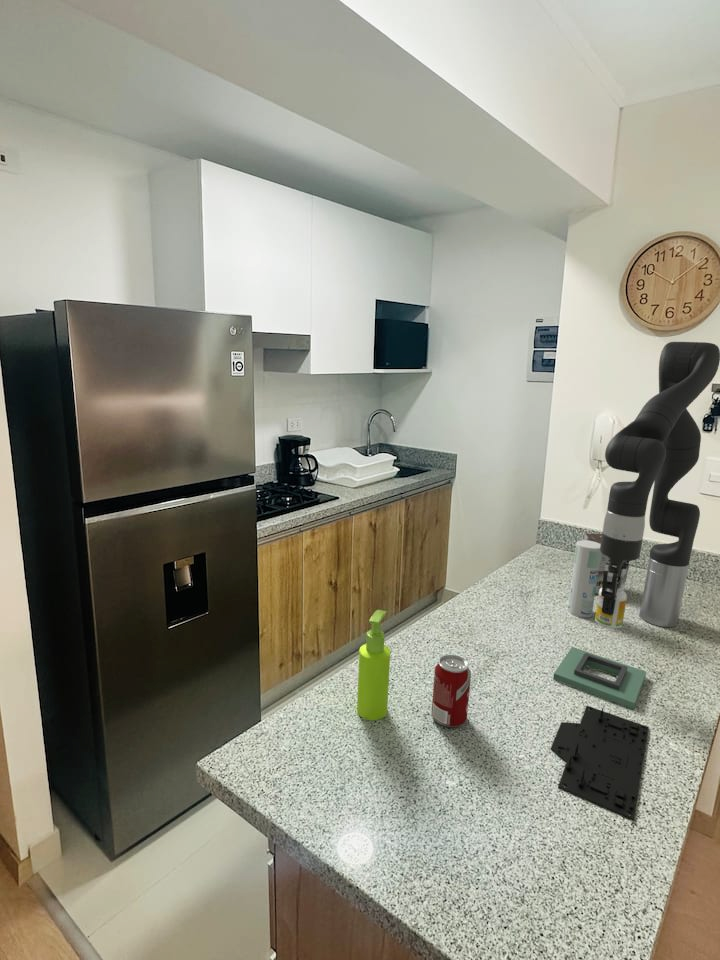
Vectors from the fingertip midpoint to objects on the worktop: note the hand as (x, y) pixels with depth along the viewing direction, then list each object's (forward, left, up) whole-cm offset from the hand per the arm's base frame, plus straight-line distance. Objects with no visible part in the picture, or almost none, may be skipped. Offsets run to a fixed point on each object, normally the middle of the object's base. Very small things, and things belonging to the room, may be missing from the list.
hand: (610, 608), depth 114 cm
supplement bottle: (0, 0, -4) cm, 4 cm away
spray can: (-30, -12, -17) cm, 36 cm away
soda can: (+33, -20, -17) cm, 42 cm away
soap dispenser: (+40, -33, -17) cm, 55 cm away
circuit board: (+24, +5, -18) cm, 31 cm away
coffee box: (-50, -13, -17) cm, 54 cm away
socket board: (0, 0, -17) cm, 17 cm away
